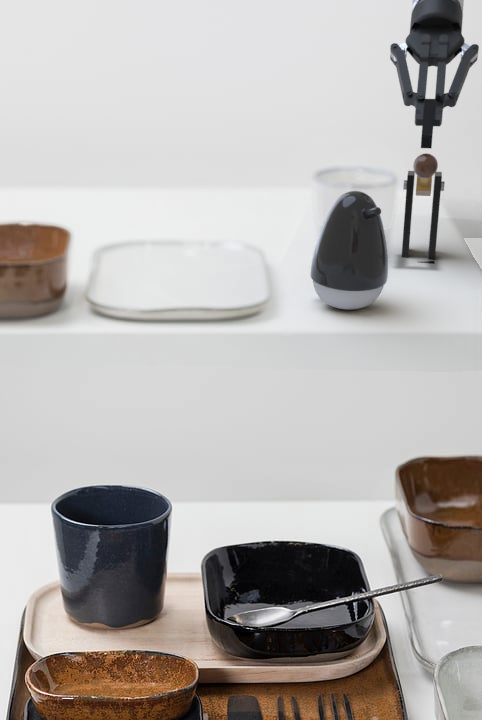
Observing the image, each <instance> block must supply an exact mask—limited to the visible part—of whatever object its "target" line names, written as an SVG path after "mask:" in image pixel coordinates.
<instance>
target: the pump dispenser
mask: <svg viewBox="0 0 482 720" xmlns="http://www.w3.org/2000/svg"><path fill="white" fill-rule="evenodd" d="M381 214H382V208H380V207H379V206H377V204H376V202H375V201H374V199H373V197H371V196H370V195H369V194H367V193H366V192H363V191H360V190H350V191H347V192H345V193H343V194H341V195H340V196H339V197H337V199H336V200H335V202H334V203H333V205H332V206H331V207H330V209H329V211H328V213H327V215H326V217H325V218H324V219H325V220H324V222H323V223H322V226H321V229H320V231H319V234H318V237H317V239H316V240H317V241H316V244H315V247H314V251H313V255H312V260H311V265H310V278H311V280H312V284H313V288H314V291H315V293H316V295H317V296H318V298H319V299H320V300H321V301H322V302H323V303H325V304H327V305H328V306H330V307H333V308H336V309H340V310H349V311H350V310H359V309H362V308H366V307H368V306H369V305H371V304H373V303H374V302H375V301H376V300H377V299H378V298H379V297H380V295H381V293H382V291H383V290H384V286H385V285H386V284H387V282H388V278H389V257H388V248H387V247H388V245H387V239H386V234H385V229H384V224H383V220H382V216H381Z"/></svg>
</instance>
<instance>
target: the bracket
mask: <svg viewBox="0 0 482 720" xmlns="http://www.w3.org/2000/svg"><path fill="white" fill-rule="evenodd" d="M415 176H416V173H415V172H414V170H408V171H407V178H406V179H404V180H403V188H402V189H403V190H405V191H406V192H405V204H404V218H403V219H404V220H403V233H402V245H401V246H402V247H401V258H406V259H408V258H409V253H410V243H411V242H410V241H411V229H412V215H413V214H412V213H413V202H414V187H415ZM442 179H443V172H442V171H436V173H435V174H434V179H433V192H432V205H431V217H430V230H429V239H428V254H427V260H424V261H422V260H421V261H418V263H420V264H433V265H435V264H436V263H435V262H436V261H435V260H436V249H437V241H438V240H437V239H438V227H439V214H440V205H441V203H440V202H441V192H444V191H445V183H446V181H444V180H442Z"/></svg>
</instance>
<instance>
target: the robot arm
mask: <svg viewBox="0 0 482 720" xmlns="http://www.w3.org/2000/svg"><path fill="white" fill-rule="evenodd" d="M411 3H412V4H411V16H410V25H409V34H408V35H406V36H407V37H405V40H404V41H405V42H403V43H401V44H398V43H395V42H394V43H392V44H390V46H389V49H390V50H389V51H390V52H389V60H390V61H391V62H392V64H393V65H394V67H395V68H396V72H397V73H396V74H397V77H398V82H399V86H400V92H401V96H402V101H403V105H404V106H405V107H410V106H413V107H414V108H415V110H414V125H415V126H416V127H421V137H420V138H421V140H420V149H432V145H433V134H434V127H441V126H442V125H443V123H442V122H443V114H444V113H443V112H444V109H445V108H447V107H449V108H454V107H456V105H457V103H458V100H459V98H460V94H461V92H462V89H463V87H464V84H465V81H466V79H467V77H468V74H469V71H470V69H471V67H473V65H475V63H476V62H477V61H478V58H479V57H478V56H479V50H480V47H479V45H478V44H476V43H472V44H471V45H469V44H468V43H466V42H465V37H464V36H463V34H462V33H463V18H464V4H465V0H412V2H411ZM408 54H409V55H410V56H411V57H412V59H413V60H414V61H415V62H416V63H417V64H418V65H419V66H418V78H417V89H416V92H415V91H414V90H413V85H412V81H411V76H410V72H409V66H408V62H407V57H408V56H407V55H408ZM459 54H460V61H459V64H458V67H457V68H456V71H455V74H454V76H453V78H452V82H451V83H450V87H449V90H448V92H445V87H446V86H445V85H446V74H447V73H446V72H447V65H448V64H450V63H451V62H452V61H453V60H454V59H455V58H457V56H458V55H459ZM429 67H436V82H435V93H434V94H435V95H434V98H426V94H427V82H428V73H429Z"/></svg>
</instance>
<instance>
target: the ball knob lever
mask: <svg viewBox="0 0 482 720" xmlns="http://www.w3.org/2000/svg"><path fill="white" fill-rule="evenodd" d="M412 165H413V166H412V169H413V171H414V172H415V176H416V183H415V185H416V186H415V196H416V197H418V196H420V197H431V195H432V182H433V176H435V173H436V172H438V167H439V162H438V160H437V158H436V156H434V155H432V154H431V153H421V154H419V155H418V156H417V157H416V158H415V159H414V160H413V164H412Z"/></svg>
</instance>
